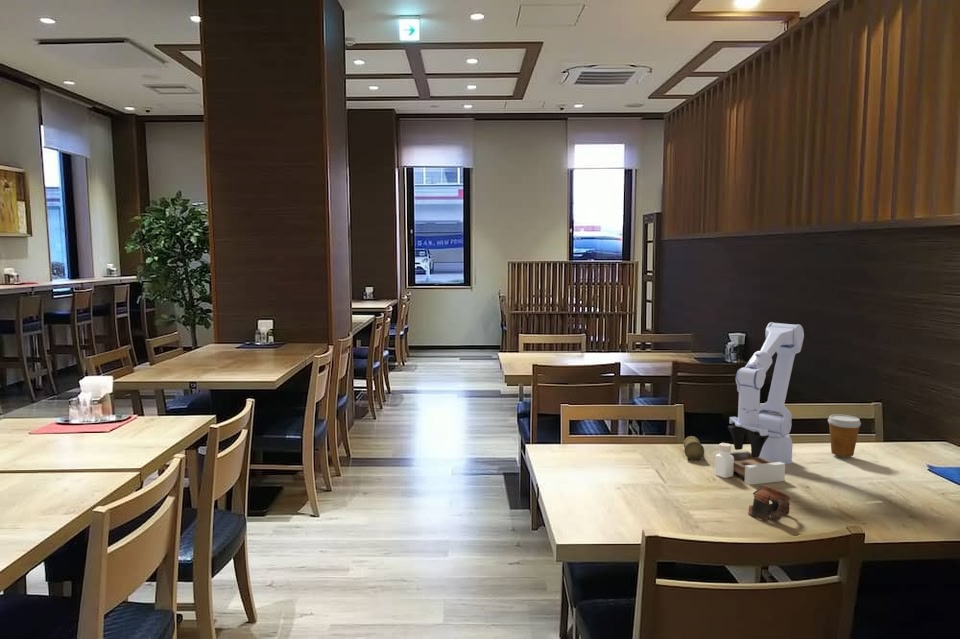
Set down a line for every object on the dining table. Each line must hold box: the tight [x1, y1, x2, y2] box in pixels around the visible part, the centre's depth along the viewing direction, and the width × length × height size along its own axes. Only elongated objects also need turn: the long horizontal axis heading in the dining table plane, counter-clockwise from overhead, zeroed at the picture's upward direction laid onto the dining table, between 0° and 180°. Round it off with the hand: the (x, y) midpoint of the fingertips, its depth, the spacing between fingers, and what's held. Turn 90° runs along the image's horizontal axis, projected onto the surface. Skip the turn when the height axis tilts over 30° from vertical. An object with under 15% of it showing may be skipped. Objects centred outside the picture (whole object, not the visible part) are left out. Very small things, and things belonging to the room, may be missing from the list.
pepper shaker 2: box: [714, 442, 734, 479], centre depth 193 cm, size 4×4×10 cm
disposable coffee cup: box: [827, 414, 862, 458], centre depth 213 cm, size 10×10×12 cm
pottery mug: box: [748, 484, 791, 522], centre depth 163 cm, size 12×9×8 cm
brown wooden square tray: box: [730, 450, 772, 479], centre depth 196 cm, size 11×11×4 cm
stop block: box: [744, 462, 786, 486], centre depth 188 cm, size 12×2×5 cm, turn 106°
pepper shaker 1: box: [683, 435, 705, 461], centre depth 213 cm, size 6×6×11 cm
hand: (746, 453), depth 196 cm, fingers open, 7 cm apart
